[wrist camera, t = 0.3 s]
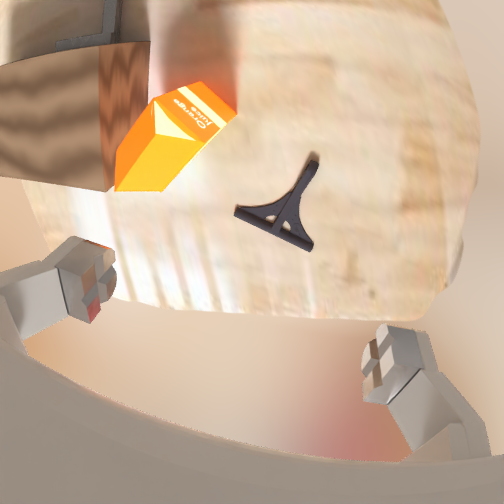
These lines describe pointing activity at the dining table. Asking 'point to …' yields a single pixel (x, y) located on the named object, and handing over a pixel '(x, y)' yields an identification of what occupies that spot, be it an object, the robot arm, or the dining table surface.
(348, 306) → the dining table surface
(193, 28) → the dining table surface
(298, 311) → the dining table surface
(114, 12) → the hook tool
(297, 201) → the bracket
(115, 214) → the dining table surface
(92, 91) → the low cabinet
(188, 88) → the orange juice
